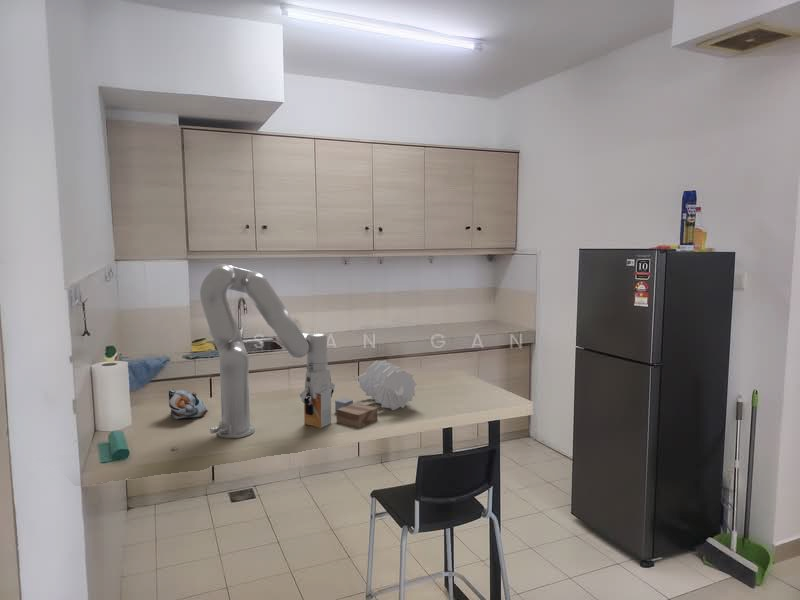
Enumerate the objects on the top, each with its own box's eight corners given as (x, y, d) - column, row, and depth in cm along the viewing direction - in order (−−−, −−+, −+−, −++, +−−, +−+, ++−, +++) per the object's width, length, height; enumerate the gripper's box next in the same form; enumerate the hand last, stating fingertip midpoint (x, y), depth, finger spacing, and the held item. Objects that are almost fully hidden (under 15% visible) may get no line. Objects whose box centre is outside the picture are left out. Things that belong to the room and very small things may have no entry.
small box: (304, 424, 203) (303, 390, 201) (314, 419, 208) (314, 386, 207) (321, 428, 199) (320, 393, 198) (331, 423, 204) (331, 389, 203)
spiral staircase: (384, 404, 241) (409, 418, 219) (350, 391, 234) (373, 404, 211) (399, 365, 244) (426, 375, 221) (366, 352, 236) (390, 360, 214)
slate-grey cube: (344, 415, 214) (344, 403, 213) (335, 413, 217) (335, 400, 216) (353, 412, 218) (353, 400, 217) (343, 409, 221) (343, 397, 220)
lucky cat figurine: (214, 414, 214) (206, 389, 206) (187, 433, 206) (178, 407, 198) (191, 397, 221) (183, 372, 213) (165, 415, 214) (155, 390, 205)
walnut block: (358, 428, 200) (358, 415, 199) (336, 422, 207) (336, 409, 206) (377, 420, 209) (377, 407, 208) (355, 414, 215) (355, 402, 215)
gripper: (307, 372, 192) (309, 419, 194) (340, 363, 206) (341, 406, 208) (293, 369, 196) (294, 415, 198) (326, 360, 210) (327, 403, 212)
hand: (318, 410), depth 203 cm, fingers open, 9 cm apart
